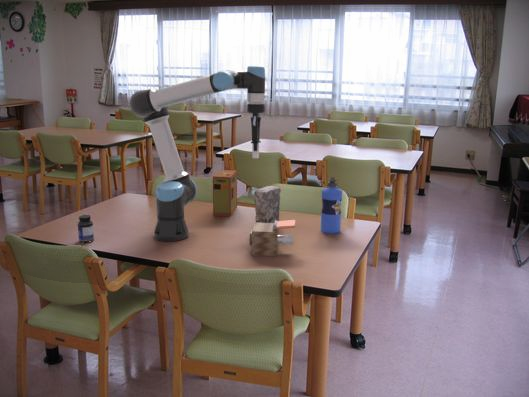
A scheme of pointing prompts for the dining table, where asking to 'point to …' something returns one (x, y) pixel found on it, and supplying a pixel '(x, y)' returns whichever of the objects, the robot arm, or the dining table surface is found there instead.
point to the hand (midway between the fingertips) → (255, 157)
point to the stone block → (267, 204)
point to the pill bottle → (85, 228)
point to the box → (224, 192)
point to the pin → (280, 239)
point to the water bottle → (331, 208)
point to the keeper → (284, 224)
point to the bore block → (264, 239)
